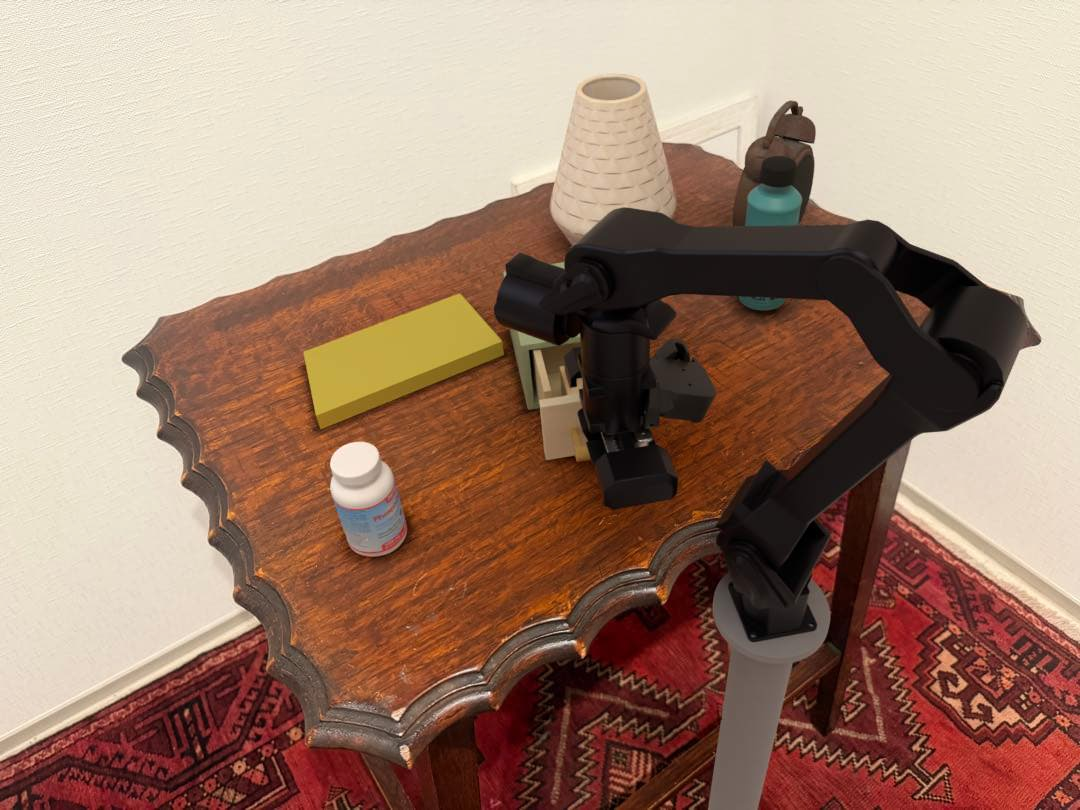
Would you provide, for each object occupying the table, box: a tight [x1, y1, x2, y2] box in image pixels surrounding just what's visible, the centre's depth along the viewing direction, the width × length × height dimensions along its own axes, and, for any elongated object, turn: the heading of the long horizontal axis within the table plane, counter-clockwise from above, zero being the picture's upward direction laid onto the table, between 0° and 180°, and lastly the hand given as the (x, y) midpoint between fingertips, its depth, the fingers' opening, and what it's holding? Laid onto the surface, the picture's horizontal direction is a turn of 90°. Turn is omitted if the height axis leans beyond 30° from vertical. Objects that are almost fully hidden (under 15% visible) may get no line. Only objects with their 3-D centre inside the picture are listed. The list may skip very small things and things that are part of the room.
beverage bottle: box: [737, 156, 802, 311], centre depth 105 cm, size 6×7×20 cm
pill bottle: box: [329, 441, 408, 558], centre depth 84 cm, size 6×6×11 cm
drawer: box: [530, 342, 591, 463], centre depth 94 cm, size 18×11×8 cm, turn 9°
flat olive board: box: [303, 293, 505, 430], centre depth 107 cm, size 12×2×24 cm
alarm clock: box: [732, 99, 817, 226], centre depth 115 cm, size 15×7×20 cm, turn 147°
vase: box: [549, 73, 678, 247], centre depth 116 cm, size 18×17×23 cm
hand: (617, 482), depth 83 cm, fingers closed
